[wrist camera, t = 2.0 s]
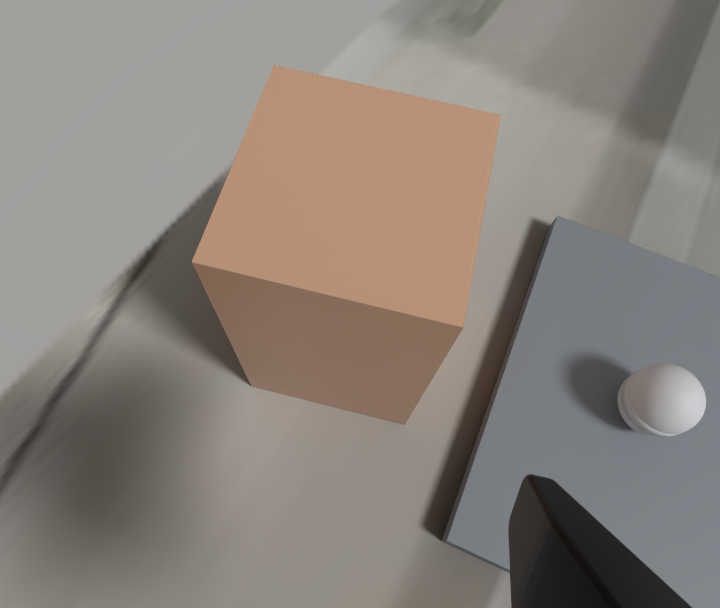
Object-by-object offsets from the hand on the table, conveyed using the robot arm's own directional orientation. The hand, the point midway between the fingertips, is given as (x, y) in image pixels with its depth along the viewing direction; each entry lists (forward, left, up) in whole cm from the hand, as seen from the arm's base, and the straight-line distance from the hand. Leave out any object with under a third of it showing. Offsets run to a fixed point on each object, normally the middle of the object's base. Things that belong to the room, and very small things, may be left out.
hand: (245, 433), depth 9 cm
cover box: (+3, +5, -12) cm, 13 cm away
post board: (+13, 0, -12) cm, 17 cm away
